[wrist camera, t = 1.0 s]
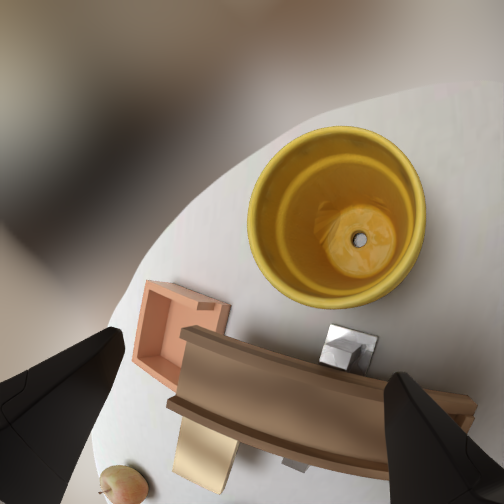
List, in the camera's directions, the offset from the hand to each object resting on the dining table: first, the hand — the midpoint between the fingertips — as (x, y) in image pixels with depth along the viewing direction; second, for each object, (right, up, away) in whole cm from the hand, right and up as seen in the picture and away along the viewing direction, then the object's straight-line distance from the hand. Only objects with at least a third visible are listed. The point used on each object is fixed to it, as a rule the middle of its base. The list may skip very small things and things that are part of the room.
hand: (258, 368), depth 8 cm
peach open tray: (-7, -6, +22) cm, 24 cm away
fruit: (-17, -32, +24) cm, 43 cm away
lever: (+4, -12, +10) cm, 16 cm away
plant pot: (+9, +4, +15) cm, 18 cm away
